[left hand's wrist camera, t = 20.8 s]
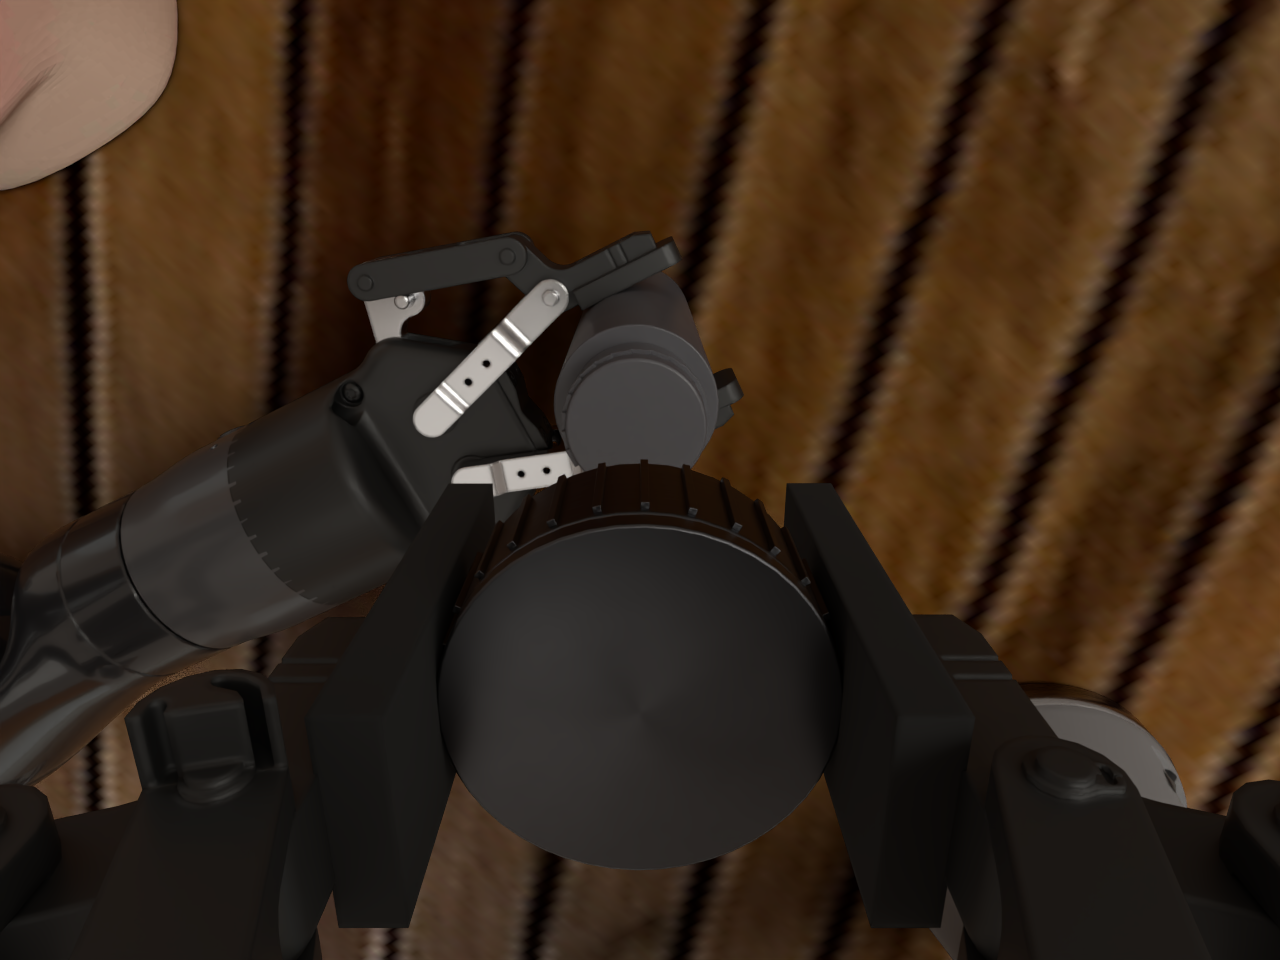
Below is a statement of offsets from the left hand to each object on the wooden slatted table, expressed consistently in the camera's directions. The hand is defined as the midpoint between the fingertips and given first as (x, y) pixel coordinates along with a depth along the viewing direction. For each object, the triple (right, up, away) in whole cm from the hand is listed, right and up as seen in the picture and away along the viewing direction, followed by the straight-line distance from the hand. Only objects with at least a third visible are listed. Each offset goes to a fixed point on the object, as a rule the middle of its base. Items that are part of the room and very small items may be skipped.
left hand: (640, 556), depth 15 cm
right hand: (+2, +7, +14) cm, 16 cm away
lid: (0, -1, -4) cm, 4 cm away
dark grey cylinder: (0, +8, +21) cm, 22 cm away
